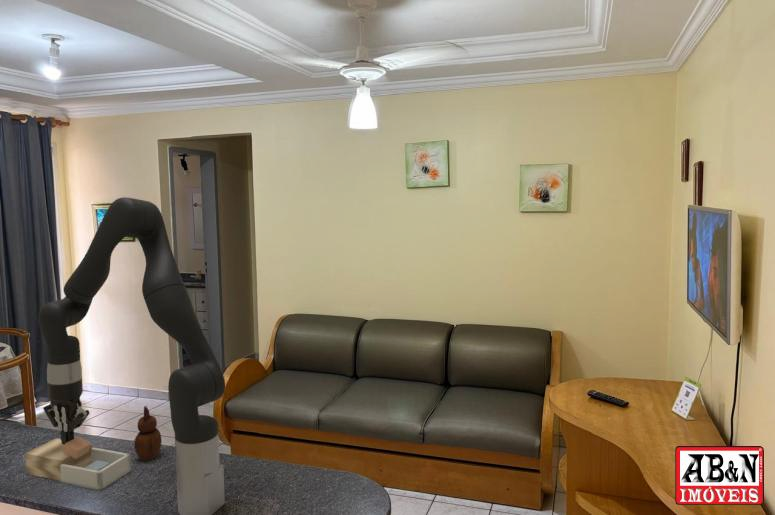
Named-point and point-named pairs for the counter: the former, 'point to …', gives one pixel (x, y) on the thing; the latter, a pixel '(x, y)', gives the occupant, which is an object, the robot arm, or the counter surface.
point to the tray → (94, 478)
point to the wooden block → (52, 460)
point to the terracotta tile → (76, 447)
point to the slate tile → (97, 465)
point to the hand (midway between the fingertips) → (67, 443)
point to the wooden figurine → (147, 437)
